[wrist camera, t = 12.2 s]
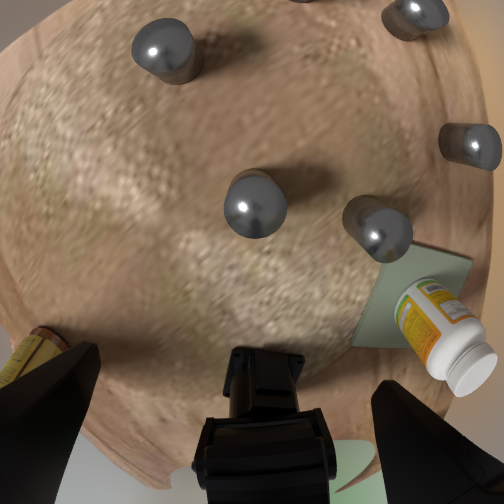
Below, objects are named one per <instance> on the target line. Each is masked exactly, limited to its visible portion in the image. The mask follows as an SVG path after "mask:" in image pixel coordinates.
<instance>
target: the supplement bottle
mask: <svg viewBox="0 0 504 504" xmlns="http://www.w3.org/2000/svg"><path fill="white" fill-rule="evenodd" d="M394 318H395V322H396V324H397V326H398V327H399V329H400V331H401V332H402V333H403V335H404V336H405V338H406V339H407V341H408V342H409V343H410V345H411V346H412V348H413V350H414V351H415V353H416V354H417V355H418V357H419V359H420V360H421V362H422V363H423V365H424V366H425V368H426V369H427V371H428V372H429V373H430V375H431V376H432V377H433V378H435V379H437V380H446V381H447V383H448V386H449V387H450V389H451V390H452V392H453V393H454V395H455V396H457V397H463V396H466V395H468V394H470V393H471V392H473V391H474V390H476V389H477V388H478V387H479V386H480V385H482V383H483V382H484V381H485V380H486V379H487V378H488V377H489V375H490V374H491V373H492V371H493V369H494V368H495V366H496V364H497V360H498V357H497V354H496V352H495V351H494V350H493V349H492V347H491V346H490V345H489V344H487V343H486V342H485V339H486V332H485V328H484V326H483V324H482V323H481V322H480V321H479V319H478V318H476V316H475V315H473V314H472V313H471V312H470V311H469V310H468V309H467V308H466V307H465V306H464V305H463V304H462V303H461V302H460V301H459V300H458V299H457V298H456V297H455V296H454V295H453V294H452V293H450V292H449V291H448V290H447V289H446V288H445V287H444V286H443V285H442V284H440V283H439V282H438V281H436V280H434V279H429V278H426V279H421V280H419V281H416V282H415V283H413V284H412V285H410V286H409V287H408V288H407V289H406V290H405V291H404V292H403V294H402V295H401V297H400V298H399V300H398V302H397V304H396V307H395V312H394Z"/></svg>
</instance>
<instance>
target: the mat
mask: <svg viewBox="0 0 504 504" xmlns="http://www.w3.org/2000/svg"><path fill="white" fill-rule="evenodd" d="M472 264H473V261H472V260H471V259H468V258H465V257H461V256H458V255H454V254H451V253H447V252H444V251H440V250H436V249H433V248H429V247H425V246H421V245H417V244H414V243H411V245H410V247H409V249H408V251H407V252H406V253H405V255H404V256H403V257H401V258H400V259H399V260H397V261H395V262H392V263H383V265H382V268H381V270H380V273H379V276H378V278H377V281H376V283H375V286H374V288H373V291H372V293H371V296H370V298H369V301H368V303H367V305H366V308H365V310H364V312H363V315H362V317H361V319H360V322H359V324H358V326H357V328H356V330H355V332H354V335H353V337H352V339H351V341H350V343H351V346H354V347H375V348H412V346H411V345H410V343H409V342H408V341H407V339H406V338H405V336H404V335H403V333H402V332H401V331H400V329H399V327H398V326H397V324H396V322H395V318H394V312H395V307H396V304H397V302H398V300H399V298H400V297H401V295H402V294H403V292H404V291H405V290H406V289H407V288H408V287H409V286H410V285H412V284H413V283H415V282H416V281H419V280H421V279H426V278H429V279H434V280H436V281H438V282H439V283H440V284H442V285H443V286H444V287H445V288H446V289H447V290H448V291H449V292H450V293H452V294H453V295H454V296H455V297H456V298H458V296H459V294H460V292H461V290H462V288H463V285H464V283H465V281H466V278H467V276H468V274H469V271H470V269H471V266H472Z"/></svg>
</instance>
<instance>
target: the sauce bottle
mask: <svg viewBox="0 0 504 504" xmlns="http://www.w3.org/2000/svg"><path fill="white" fill-rule="evenodd" d="M67 349H69V347H68V345H67V344H66V342H64V341H63V340H62V339H61V338H60V337H59V336H57V335H56V334H55V333H54V332H52V331H51V330H49V329H46V328H35V329H33V330H32V331H31V333H30V334H29V335H28V336H27V337H25V339H24V340H23V341H22V342H21V344H20V345H19V346H18V348H17V349H16V351H15V352H14V353H13V355H12V356H11V358H10V359H9V361H8V362H7V363H6V365H5V366H4V368H3V369H2V371H1V372H0V388H2V387H3V386H5V385H7V384H9V383H10V382H12V381H14V380H15V379H17V378H19V377H21V376H22V375H24V374H26V373H27V372H29V371H31V370H33V369H34V368H36V367H38V366H40V365H41V364H43V363H45V362H46V361H48V360H50V359H52V358H53V357H55V356H57V355H59V354H60V353H62V352H64V351H66V350H67Z"/></svg>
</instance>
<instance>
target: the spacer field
mask: <svg viewBox="0 0 504 504" xmlns="http://www.w3.org/2000/svg"><path fill="white" fill-rule="evenodd" d="M290 1H293V2H297V3H307V2H311V1H313V0H290ZM381 18H382V22H383V24H384V26H385V28H386V29H387V30H388V31H389V32H390V33H391V34H392V35H393V36H395V37H396V38H398V39H400V40H403V41H411V40H413V39H415V38H417V37H419V36H422V35H424V34H426V33H428V32H430V31H433V30H435V29H437V28H440V27H442V26H444V25H446V24H447V23H448V22H449V12H448V10H447V7H446V6H445V4H444V2H443V1H442V0H395V1H394V2H392V3H391V4H390V5H389V6H387V7H386V8H385V9H384V10H383V11H382V14H381ZM132 56H133V59H134V60H135V62H136V63H137V64H138V65H139V66H141V67H142V68H144V69H145V70H147V71H148V72H150V73H152V74H153V75H155V76H156V77H158V78H159V79H161V80H162V81H164V82H165V83H167V84H171V85H181V84H185V83H187V82H189V81H191V80H192V79H194V78H195V77H196V76H197V75H198V74H199V72H200V70H201V68H202V65H203V56H202V53H201V51H200V49H199V48H198V46H197V44H196V42H195V40H194V38H193V36H192V34H191V33H190V31H189V29H188V27H187V26H186V25H185V24H184V23H183V22H181V21H179V20H177V19H173V18H162V19H158V20H155V21H152V22H150V23H149V24H147V25H146V26H144V27H143V28H142V29H141V30H140V31H139V32H138V33H137V35H136V36H135V38H134V40H133V43H132ZM438 142H439V148H440V151H441V153H442V155H443V156H444V157H445V158H446V159H447V160H448V161H451V162H455V163H460V164H464V165H469V166H473V167H477V168H481V169H485V170H488V171H493V170H495V169H496V168H497V167H498V165H499V164H500V161H501V157H502V144H501V139H500V137H499V134H498V133H497V131H496V130H495V129H494V128H493V127H492V126H490V125H483V124H465V123H447V124H445V125H444V126H443V127H442V128H441V130H440V132H439V137H438ZM286 213H287V202H286V198H285V196H284V194H283V192H282V191H281V189H280V188H279V186H278V185H277V184H276V182H275V181H274V180H273V178H272V177H271V176H270V175H269V174H268V173H266V172H264V171H262V170H258V169H248V170H245V171H242V172H241V173H239V174H238V175H237V176H236V177H235V178H234V179H233V180H232V182H231V184H230V187H229V190H228V193H227V196H226V199H225V202H224V214H225V218H226V220H227V223H228V224H229V226H230V227H231V228H232V229H233V230H234V231H235V232H236V233H238V234H239V235H241V236H244V237H247V238H252V239H258V238H264V237H267V236H269V235H271V234H273V233H274V232H276V231H277V230H278V229H279V228H280V227H281V225H282V224H283V222H284V220H285V217H286ZM342 221H343V226H344V228H345V230H346V231H347V232H348V234H350V235H351V236H352V237H353V238H354V239H355V240H356V241H357V242H358V243H359V244H360V245H361V246H362V247H363V248H364V249H365V250H366V251H367V252H368V254H369V255H370V256H371V257H372V258H373V259H375V260H376V261H378V262H380V263H392V262H395V261H397V260H399V259H400V258H401V257H403V256H404V255H405V253H406V252H407V251H408V249H409V247H410V245H411V243H412V239H413V228H412V224H411V222H410V220H409V219H408V218H407V216H405V215H404V214H402V213H401V212H399V211H397V210H395V209H393V208H392V207H390V206H388V205H386V204H384V203H382V202H380V201H378V200H376V199H374V198H372V197H370V196H366V195H362V196H358V197H355V198H353V199H352V200H351V201H350V202H349V203H348V204H347V205H346V207H345V209H344V212H343V217H342Z"/></svg>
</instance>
